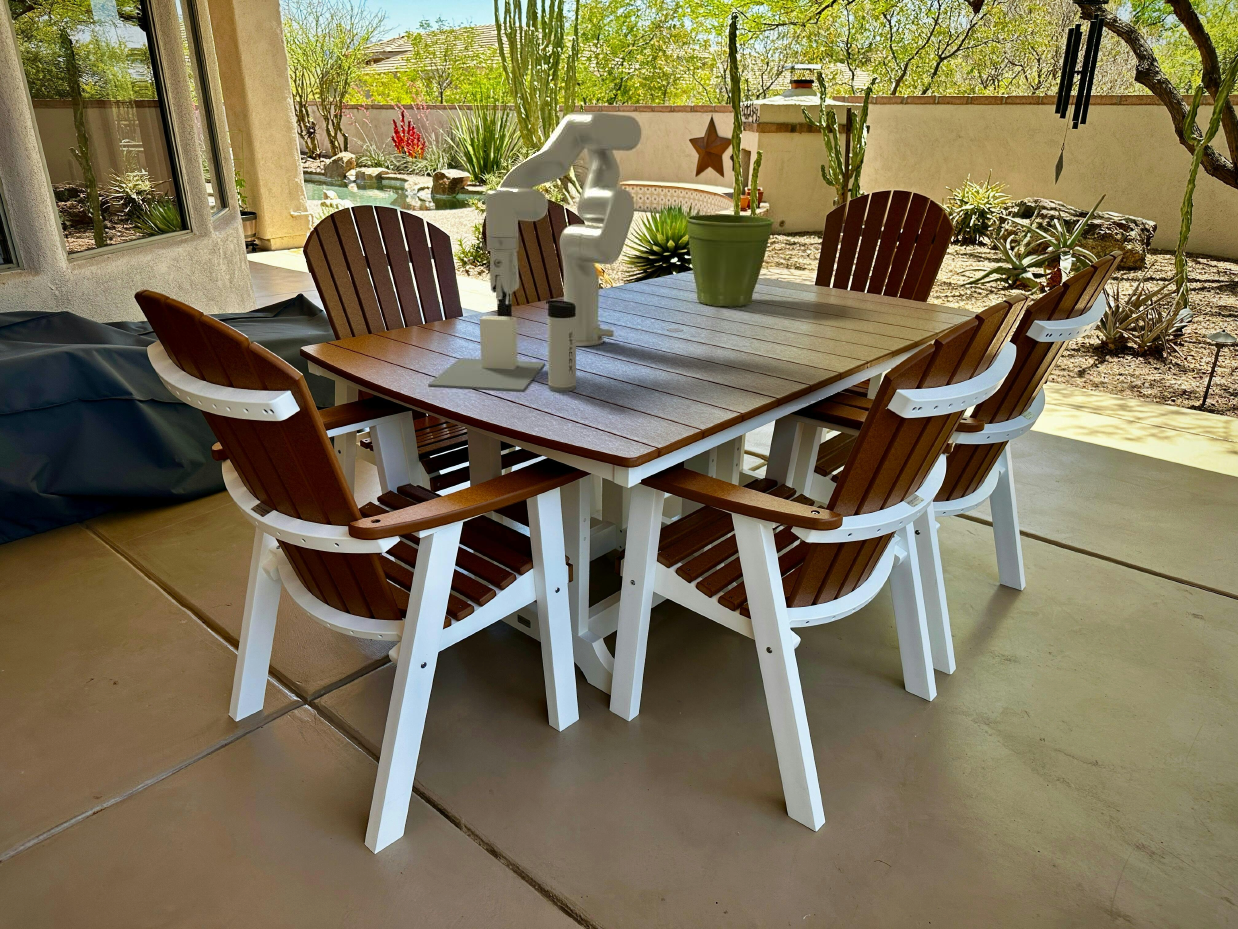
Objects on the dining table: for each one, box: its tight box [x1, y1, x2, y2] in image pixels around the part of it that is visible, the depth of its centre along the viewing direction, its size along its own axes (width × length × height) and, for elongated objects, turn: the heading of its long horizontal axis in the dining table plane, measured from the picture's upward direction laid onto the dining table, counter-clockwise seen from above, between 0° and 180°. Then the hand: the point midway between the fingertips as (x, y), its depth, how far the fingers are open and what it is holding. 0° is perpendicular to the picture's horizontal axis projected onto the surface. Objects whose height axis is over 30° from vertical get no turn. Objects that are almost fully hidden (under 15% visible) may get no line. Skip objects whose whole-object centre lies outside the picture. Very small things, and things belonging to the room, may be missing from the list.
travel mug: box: [545, 299, 577, 393], centre depth 181 cm, size 6×7×20 cm
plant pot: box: [685, 214, 775, 307], centre depth 281 cm, size 30×30×29 cm
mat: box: [428, 357, 546, 392], centre depth 194 cm, size 22×24×1 cm
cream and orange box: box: [479, 315, 519, 369], centre depth 197 cm, size 8×4×12 cm, turn 83°
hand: (504, 319), depth 201 cm, fingers closed
